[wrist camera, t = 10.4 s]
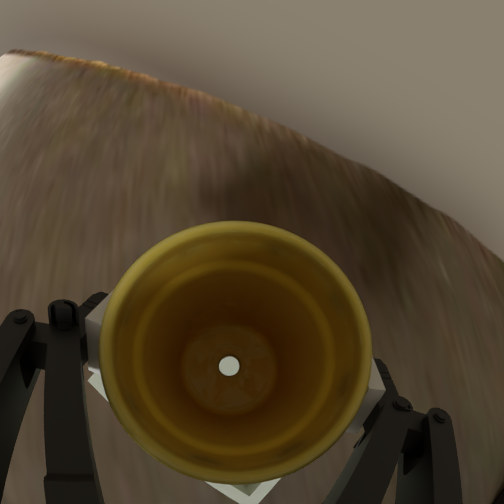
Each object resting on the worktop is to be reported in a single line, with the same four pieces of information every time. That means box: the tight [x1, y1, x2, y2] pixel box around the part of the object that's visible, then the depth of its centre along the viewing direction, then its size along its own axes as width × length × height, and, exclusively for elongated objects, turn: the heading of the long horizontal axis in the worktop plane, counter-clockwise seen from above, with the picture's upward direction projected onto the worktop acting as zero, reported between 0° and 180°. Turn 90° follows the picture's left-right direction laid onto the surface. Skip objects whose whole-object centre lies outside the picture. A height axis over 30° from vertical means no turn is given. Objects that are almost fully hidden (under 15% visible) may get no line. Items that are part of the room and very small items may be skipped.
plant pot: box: [98, 221, 372, 485], centre depth 15 cm, size 10×10×10 cm
